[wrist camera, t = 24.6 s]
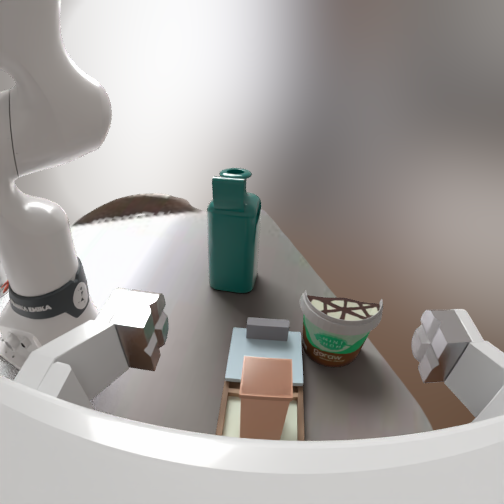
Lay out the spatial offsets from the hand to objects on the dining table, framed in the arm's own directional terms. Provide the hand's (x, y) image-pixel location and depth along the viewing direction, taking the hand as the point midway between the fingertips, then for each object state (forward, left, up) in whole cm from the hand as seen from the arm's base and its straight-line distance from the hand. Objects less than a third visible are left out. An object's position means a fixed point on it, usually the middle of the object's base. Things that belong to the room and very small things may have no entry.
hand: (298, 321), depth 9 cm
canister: (0, +12, -29) cm, 32 cm away
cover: (0, +23, -28) cm, 37 cm away
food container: (+10, +25, -30) cm, 41 cm away
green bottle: (-7, +43, -30) cm, 53 cm away
